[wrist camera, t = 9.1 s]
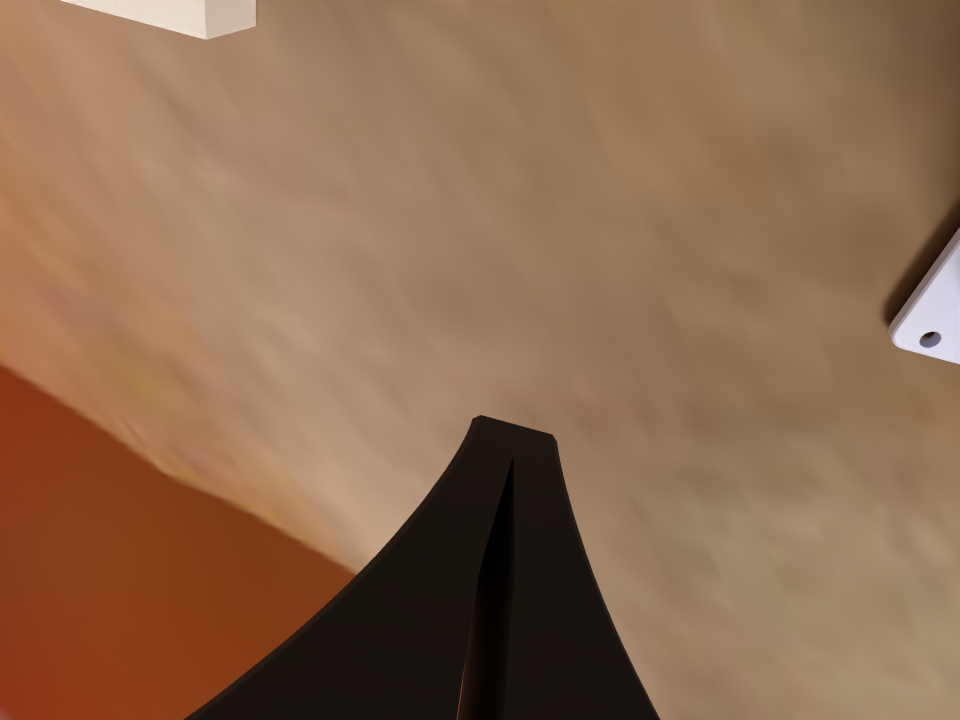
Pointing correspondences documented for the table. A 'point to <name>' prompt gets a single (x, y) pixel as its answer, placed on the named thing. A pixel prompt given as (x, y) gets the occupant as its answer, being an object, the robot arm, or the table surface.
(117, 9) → the white u-shaped frame
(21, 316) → the table surface
